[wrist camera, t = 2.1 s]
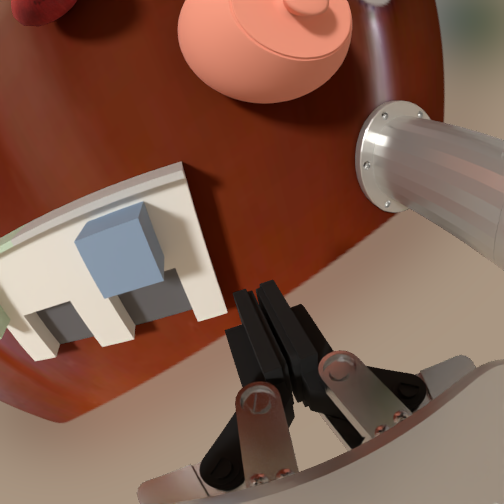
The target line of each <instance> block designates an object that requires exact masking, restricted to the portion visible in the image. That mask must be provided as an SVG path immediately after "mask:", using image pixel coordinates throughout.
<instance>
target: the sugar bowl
mask: <svg viewBox="0 0 504 504" xmlns="http://www.w3.org/2000/svg"><path fill="white" fill-rule="evenodd" d="M351 34H352V17H351V10H350V7H349V4H348V2H347V0H185V2H184V5H183V7H182V9H181V13H180V17H179V21H178V39H179V44H180V48H181V51H182V53H183V56H184V58H185V60H186V62H187V63H188V65H189V66H190V68H191V69H192V70H193V72H194V73H195V74H196V75H197V76H198V77H199V78H200V79H201V80H202V81H203V82H204V83H206V84H207V85H208V86H210V87H211V88H213V89H214V90H216V91H218V92H220V93H222V94H224V95H226V96H228V97H231V98H234V99H237V100H241V101H245V102H251V103H264V104H265V103H278V102H283V101H289V100H293V99H296V98H299V97H301V96H304V95H306V94H308V93H310V92H312V91H314V90H315V89H317V88H318V87H320V86H321V85H323V84H324V83H325V82H326V81H328V80H329V79H330V78H331V77H332V76H333V75H334V74H335V72H336V71H337V70H338V69H339V67H340V66H341V64H342V63H343V61H344V58H345V56H346V54H347V52H348V48H349V45H350V41H351Z"/></svg>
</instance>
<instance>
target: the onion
mask: <svg viewBox="0 0 504 504" xmlns="http://www.w3.org/2000/svg"><path fill="white" fill-rule="evenodd" d="M76 2H77V0H11V7H12V14H13V16H14V18H15V19H16V20H18V21H19V22H20V23H21V24H23V25H24V26H41V25H44V24H48V23H51V22H53V21H55V20H57V19H58V18H60V17H62V16H63V15H64V14H65V13H67V12H68V11H69V10H70V9H71V8H72V7H73V6H74V4H75V3H76Z"/></svg>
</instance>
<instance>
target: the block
mask: <svg viewBox="0 0 504 504" xmlns="http://www.w3.org/2000/svg"><path fill="white" fill-rule="evenodd" d="M74 243H75V245H76V247H77V249H78V251H79V253H80V255H81V257H82V259H83V261H84V263H85V265H86V267H87V269H88V271H89V272H90V274H91V276H92V278H93V280H94V282H95V283H96V285H97V287H98V289H99V290H100V292H101V294H102V296H103V297H104V299H106V298H109V297H112V296H116V295H119V294H122V293H125V292H129V291H132V290H135V289H139V288H142V287H145V286H148V285H152V284H155V283H158V282H162V281H164V254H163V252H162V249H161V247H160V244H159V242H158V239H157V236H156V234H155V231H154V229H153V226H152V223H151V220H150V218H149V215H148V212H147V209H146V207H145V204H144V201H142V202H139V203H136V204H133V205H131V206H128V207H125V208H122V209H120V210H117V211H114V212H111V213H109V214H106V215H104V216H101V217H98V218H96V219H93V220H91V221H88V222H87V223H86V224H85V226H84V227H83V229H82V230H81V232H80V233H79V235H78V236H77V238H76V239H75V241H74Z"/></svg>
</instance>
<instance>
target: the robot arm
mask: <svg viewBox="0 0 504 504" xmlns="http://www.w3.org/2000/svg"><path fill="white" fill-rule="evenodd" d="M355 167H356V173H357V179H358V181H359V184H360V187H361V189H362V191H363V193H364V194H365V196H366V197H367V198H368V199H369V201H370V202H371V203H373V204H374V205H376V206H377V207H379V208H380V209H382V210H384V211H388V212H393V213H394V212H402V211H405V210H408V209H409V208H410V209H411V210H413V211H415V212H417V213H418V214H420V215H422V216H423V217H426V218H427V219H428V220H430V221H432V222H433V223H435V224H437V225H438V226H440V227H441V228H443V229H444V230H446V231H448V232H449V233H451V234H452V235H454V236H456V237H457V238H458V239H460V240H461V241H463V242H464V243H466V244H467V245H469V246H470V247H472V248H473V249H474V250H476V251H477V252H479V253H481V255H483V256H484V257H486V258H487V259H488V260H490V261H491V262H493V263H494V264H495V265H497V266H498V267H499V268H501V269H502V270H503V271H504V140H502V139H499V138H496V137H493V136H489V135H487V134H483V133H480V132H477V131H473V130H470V129H466V128H463V127H459V126H455V125H450V124H446V123H442V122H438V121H433V120H430V118H429V116H428V115H427V114H426V113H425V112H424V110H423V109H421V108H420V107H419V106H417V105H416V104H413V103H411V102H407V101H389V102H386V103H384V104H382V105H380V106H379V107H377V108H376V109H375V110H374V111H373V112H372V113H371V114H370V115H369V117H368V118H367V120H366V121H365V122H364V125H363V127H362V129H361V131H360V134H359V137H358V141H357V145H356V154H355ZM256 293H257V297H258V302H259V304H258V302H257V300H256V298H255V296H254V294H253V291H249V292H247V290H246V289H243V290H240V291H237V292H234V293H233V296H234V300H235V303H236V306H237V309H238V312H239V316H240V319H241V322H242V325H239V326H236V327H233V328H230V329H227V330H225V333H226V336H227V339H228V342H229V346H230V349H231V352H232V356H233V359H234V362H235V365H236V368H237V371H238V375H239V378H240V381H241V384H242V387H243V388H242V389H241V390H240V391H239V392H238V394H237V396H236V401H235V406H236V412H235V413H234V415H233V417H232V418H231V420H230V421H229V423H228V424H227V425H226V427H225V428H224V430H223V431H222V433H221V434H220V436H219V437H218V438H217V440H216V441H215V443H214V444H213V446H212V447H211V448H210V450H209V451H208V453H207V454H206V455H205V457H204V458H203V460H202V462H199V463H197V464H195V465H188V466H185V467H183V468H180V469H178V470H175V471H173V472H170V473H167V474H165V475H162V476H159V477H156V478H153V479H150V480H147V481H145V482H143V483H142V484H141V485H140V486H139V488H138V491H137V496H138V500H139V502H140V504H504V360H495V361H491V362H488V363H486V364H483V365H481V366H479V367H477V368H476V367H475V365H474V363H473V362H472V360H471V359H470V358H468V357H466V356H463V355H459V356H455V357H453V358H451V359H448V360H446V361H444V362H441V363H439V364H436V365H434V366H431V367H429V368H426V369H424V370H421V371H420V373H419V374H416V375H413V374H409V373H403V372H397V371H391V370H385V369H380V368H374V367H369V366H365V364H364V363H363V362H362V361H360V359H359V358H358V357H357V356H355V355H354V354H352V353H350V352H347V351H340V350H339V351H333V350H332V348H331V347H330V345H329V344H328V342H327V341H326V339H325V338H324V336H323V335H322V333H321V332H320V330H319V329H318V327H317V326H316V324H315V323H314V321H313V319H312V318H311V317H310V315H309V314H308V312H307V310H306V309H305V307H304V306H303V305H302V304H299V305H297V306H294V307H291V308H290V307H289V305H288V303H287V302H286V300H285V298H284V297H283V295H282V293H281V292H280V290H279V288H278V287H277V285H276V283H275V282H274V280H270V281H267V282H264V283H261V284H260V288H258V289H256ZM292 392H293V394H294V396H295V398H296V400H297V402H301V401H303V403H304V405H305V407H307V406H309V408H310V410H312V411H315V412H318V413H319V414H320V415H321V417H322V418H323V420H324V421H325V422H326V423H327V425H328V426H329V427H330V429H331V430H332V431H333V433H334V434H335V435H336V436H337V438H338V439H339V440H340V441H341V442H342V444H343V445H344V446H345V448H346V449H347V450H348V452H346V453H344V454H341V455H339V456H337V457H335V458H333V459H331V460H328V461H326V462H324V463H321V464H319V465H317V466H314V467H311V468H309V469H306V470H304V471H301V472H299V471H298V466H297V462H296V458H295V454H294V449H293V445H292V441H291V437H290V432H289V427H290V425H291V423H292V421H293V419H294V417H295V416H294V410H293V404H294V401H293V395H292Z"/></svg>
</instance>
